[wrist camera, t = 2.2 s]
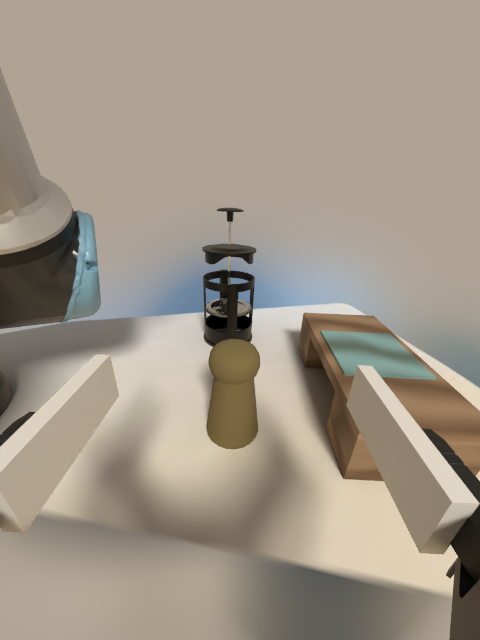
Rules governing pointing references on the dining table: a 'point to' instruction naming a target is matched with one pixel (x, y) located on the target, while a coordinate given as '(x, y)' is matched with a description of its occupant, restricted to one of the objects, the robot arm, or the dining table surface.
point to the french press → (228, 292)
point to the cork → (233, 394)
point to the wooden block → (400, 376)
